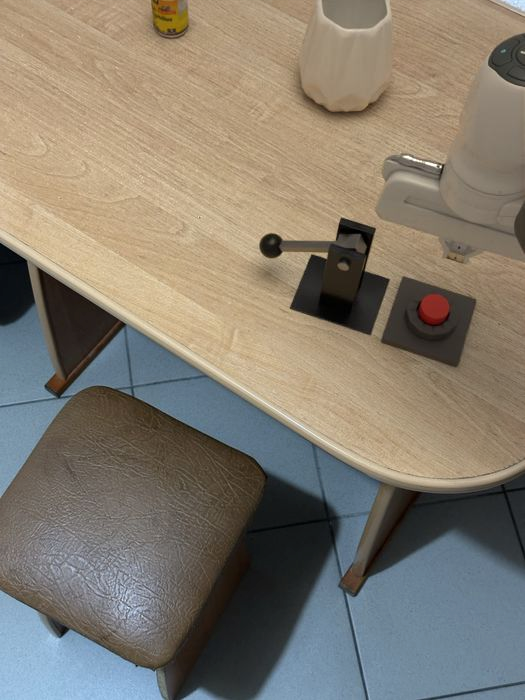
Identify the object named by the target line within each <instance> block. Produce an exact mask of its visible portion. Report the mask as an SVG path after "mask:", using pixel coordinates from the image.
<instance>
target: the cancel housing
mask: <svg viewBox="0 0 525 700" xmlns="http://www.w3.org/2000/svg"><path fill="white" fill-rule="evenodd" d="M430 294H438V295H441V296H443V297H444V298H445V299H446V300H447V301H448V303H449V307H450V309H449V313H448V315H447V317H446V319H445V320H444V322H442V323H441V324H438V325H429V324H427V323H425V322H424V321H422V319H421V318H420V316H419V313H418V310H419V307H420V304H421V302H422V300H423V298H424V297H426V296H427V295H430ZM476 304H477V299H476V298H473V297H472V296H471V297H470V296H467V295H465V294H461V293H457V292H455V291H451V290H448V289H446V288H442V287H439V286H436V285H433V284H430V283H426V282H425V281H421V280H417V279H415V278H411V277H407V276H405V275H402V277H401V281H400V283H399V287H398V290H397V292H396V295H395V298H394V302H393V304H392V307H391V310H390V313H389V316H388V318H387V322H386V325H385V328H384V331H383V333H382V337H381V339H380V343H381V344H384V345H387V346H390V347H393V348H396V349H399V350H402V351H406V352H409V353H411V354H414V355H417V356H420V357H422V358H423V357H424V358H426V359H430V360H432V361H435V362H439V363H440V364H441V363H442V364H444V365H448V366H449V367H454V368H457V367H458V365H459V363H460V359H461V356H462V353H463V349H464V344H465V343H466V338H467V335H468V331H469V328H470V324H471V321H472V318H473V313H474V310H475V306H476Z"/></svg>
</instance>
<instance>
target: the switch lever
mask: <svg viewBox="0 0 525 700" xmlns="http://www.w3.org/2000/svg"><path fill="white" fill-rule="evenodd" d="M331 243H332V244H335V245H338V246H341V247H344V248H348V249H351V250H354V251H357V252H360V253H363V254H364V253H365V250H366V247H367V246H366V244H365V242H364V240H363V238H362V236H361V234H340V235H339V237H338V240H337V241H335V240H294V239H293V240H292V239H291V240H290V239H287V240H286V239H283V237H282V236H280V235H279V233H278V234H277V233H274V232H269V233H266V234H265V235H263V236H262V237H261V239H260V240H259V244H258V247H259V251H260V253H261V254H262V256H263V257H265V258H266V259H271V260H272V259H276V258H279V257H280V256H281V255H282V254H283V253H322V254H323V253H324V254H328V250H329V247H330V244H331Z"/></svg>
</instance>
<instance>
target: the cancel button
mask: <svg viewBox="0 0 525 700" xmlns="http://www.w3.org/2000/svg"><path fill="white" fill-rule="evenodd" d="M449 309H450V307H449V303H448V301H447V300H446V299H445V298H444V297H443V296H441V295H438V294H430V295H427V296H426V297H424V298H423V300H422V302H421V304H420V307H419V310H418V313H419V316H420V318H421V319H422V321H424V322H425V323H427V324H429V325H438V324H441V323H442V322H444V320H445V319H446V317H447V315H448V313H449Z"/></svg>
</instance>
